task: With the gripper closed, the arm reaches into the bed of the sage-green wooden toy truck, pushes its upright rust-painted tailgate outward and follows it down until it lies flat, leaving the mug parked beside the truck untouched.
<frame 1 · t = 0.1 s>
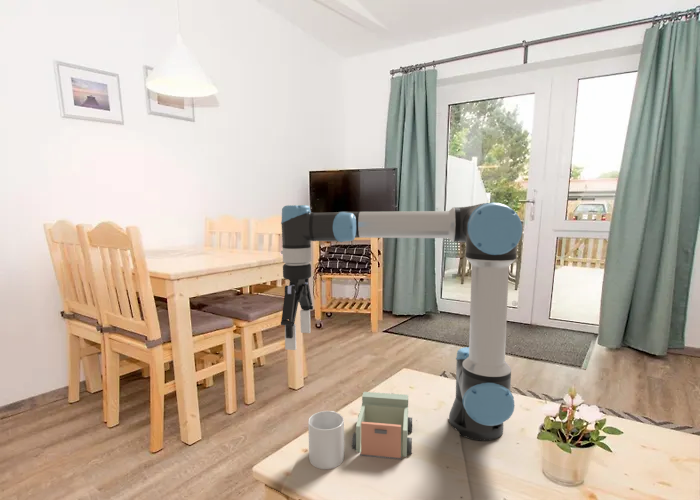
hand: (298, 340, 107), 28 cm above the table, fingers open, 13 cm apart
mug: (328, 458, 101), on the table
truck bed: (383, 443, 106), on the table
tailgate: (380, 441, 99), point 5 cm above the table, hinge at -4.0°
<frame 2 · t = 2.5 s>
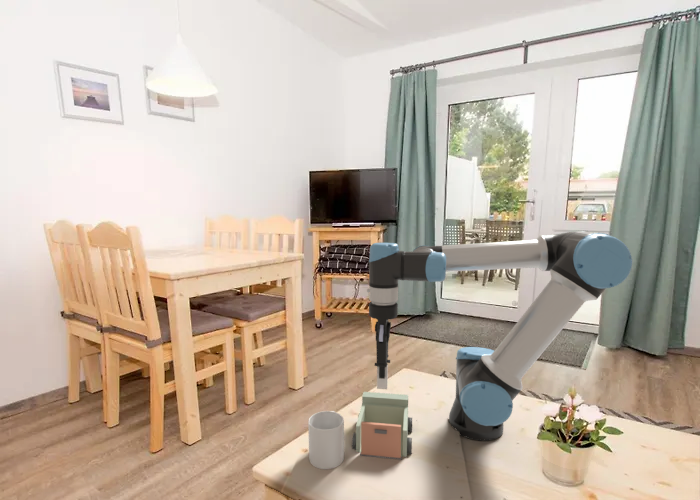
hand: (382, 387, 105), 16 cm above the table, fingers closed
nothing on the table moved.
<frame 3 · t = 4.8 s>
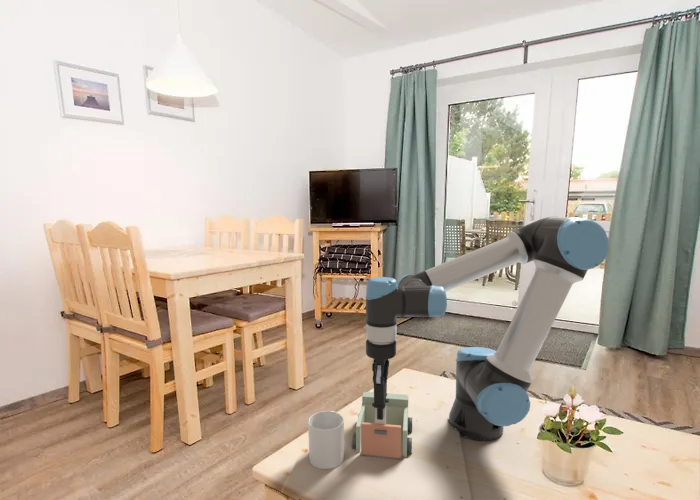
hand: (380, 428, 100), 8 cm above the table, fingers closed
tailgate: (380, 442, 99), point 5 cm above the table, hinge at -1.7°, touching gripper
everything else where it was.
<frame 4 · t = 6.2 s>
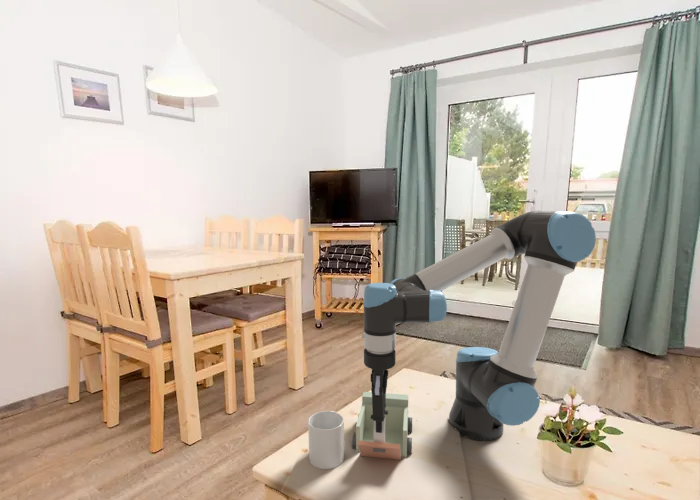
hand: (379, 441, 95), 7 cm above the table, fingers closed
tailgate: (379, 452, 96), point 4 cm above the table, hinge at 39.1°, touching gripper
everything else where it was.
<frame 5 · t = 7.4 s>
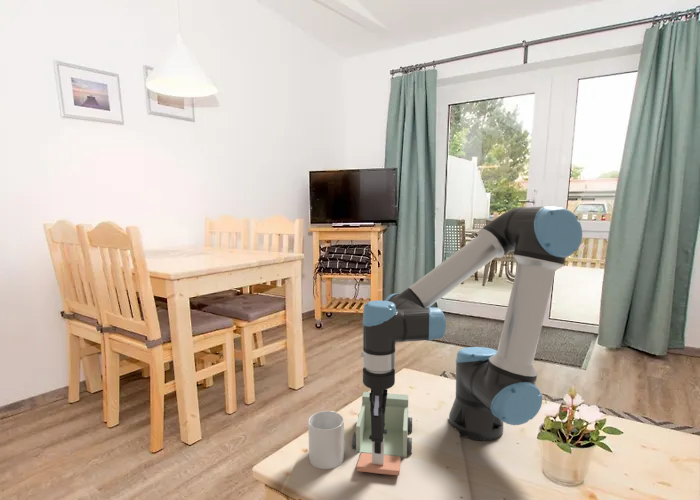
hand: (378, 462, 94), 3 cm above the table, fingers closed
tailgate: (379, 464, 96), point 2 cm above the table, hinge at 77.9°, touching gripper
everything else where it was.
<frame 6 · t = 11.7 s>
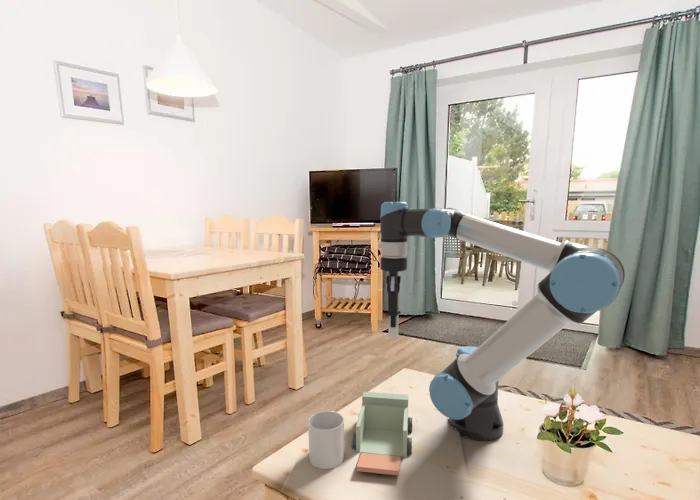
hand: (393, 336, 114), 26 cm above the table, fingers closed
tailgate: (379, 464, 96), point 2 cm above the table, hinge at 77.9°
everything else where it was.
at the end: tailgate at +78° (first picture: -4°); mug moved 0.2 cm from its start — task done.
